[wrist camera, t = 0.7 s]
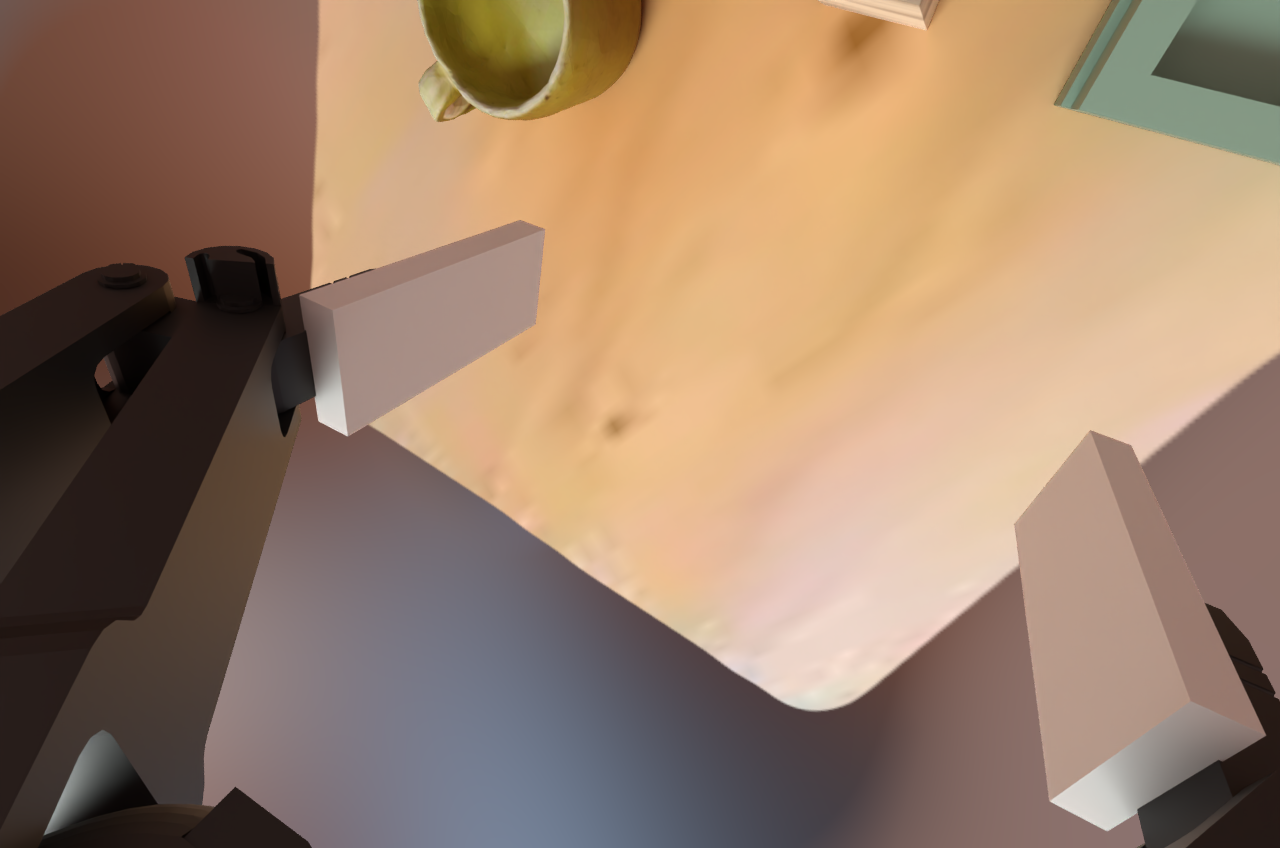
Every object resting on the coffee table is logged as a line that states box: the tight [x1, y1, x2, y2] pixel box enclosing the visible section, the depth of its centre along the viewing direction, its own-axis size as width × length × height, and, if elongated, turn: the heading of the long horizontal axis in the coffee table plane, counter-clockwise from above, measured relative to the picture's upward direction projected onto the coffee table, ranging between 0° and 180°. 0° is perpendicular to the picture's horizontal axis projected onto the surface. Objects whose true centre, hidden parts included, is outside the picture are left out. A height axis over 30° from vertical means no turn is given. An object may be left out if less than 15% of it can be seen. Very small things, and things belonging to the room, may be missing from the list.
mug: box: [417, 0, 641, 122], centre depth 31 cm, size 12×10×10 cm
